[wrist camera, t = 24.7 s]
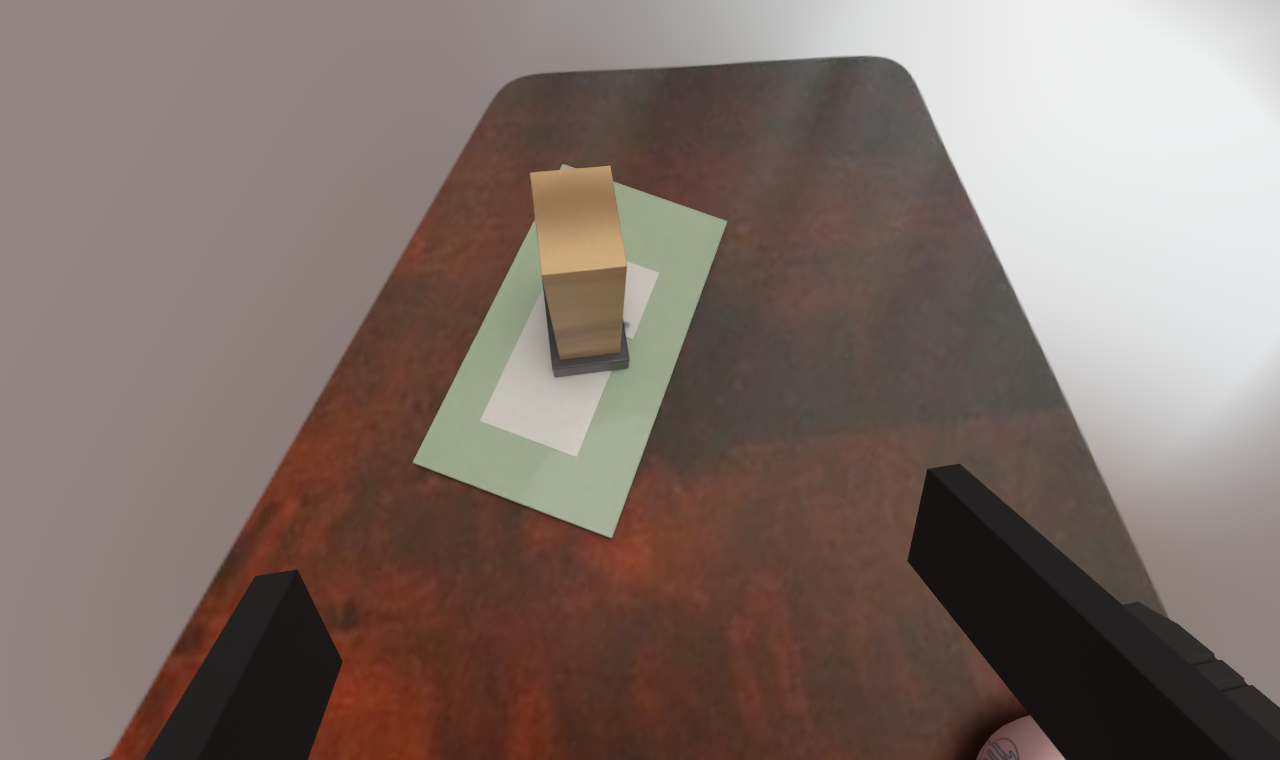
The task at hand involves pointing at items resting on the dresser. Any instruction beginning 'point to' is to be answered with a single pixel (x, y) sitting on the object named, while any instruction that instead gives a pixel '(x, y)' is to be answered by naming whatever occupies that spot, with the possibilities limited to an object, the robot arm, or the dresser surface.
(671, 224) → the chalk board
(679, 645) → the dresser surface
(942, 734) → the dresser surface
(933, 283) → the dresser surface
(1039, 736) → the mug
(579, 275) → the eraser
